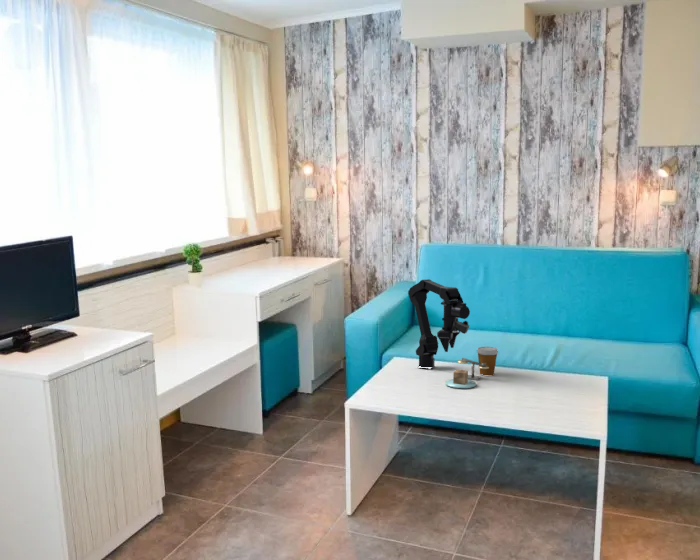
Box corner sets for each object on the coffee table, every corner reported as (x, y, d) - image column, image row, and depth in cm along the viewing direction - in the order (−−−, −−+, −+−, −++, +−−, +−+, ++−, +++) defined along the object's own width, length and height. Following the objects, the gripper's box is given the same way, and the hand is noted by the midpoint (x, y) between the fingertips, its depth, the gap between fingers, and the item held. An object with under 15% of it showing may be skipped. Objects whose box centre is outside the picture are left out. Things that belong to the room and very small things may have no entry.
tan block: (453, 383, 286) (453, 372, 286) (456, 380, 291) (456, 369, 290) (464, 384, 284) (464, 373, 284) (467, 382, 289) (468, 370, 288)
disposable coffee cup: (499, 377, 301) (500, 350, 300) (478, 376, 301) (478, 350, 300) (495, 371, 311) (495, 346, 309) (474, 371, 311) (475, 346, 309)
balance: (455, 378, 299) (456, 358, 298) (458, 375, 304) (459, 356, 303) (487, 381, 293) (487, 361, 292) (489, 378, 298) (490, 359, 297)
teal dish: (441, 387, 284) (441, 384, 284) (450, 379, 296) (450, 377, 296) (471, 390, 279) (471, 388, 279) (479, 383, 291) (479, 380, 291)
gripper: (462, 320, 288) (461, 355, 290) (472, 313, 305) (472, 347, 307) (437, 318, 293) (436, 353, 294) (449, 312, 310) (448, 345, 311)
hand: (449, 349), depth 302 cm, fingers open, 9 cm apart
